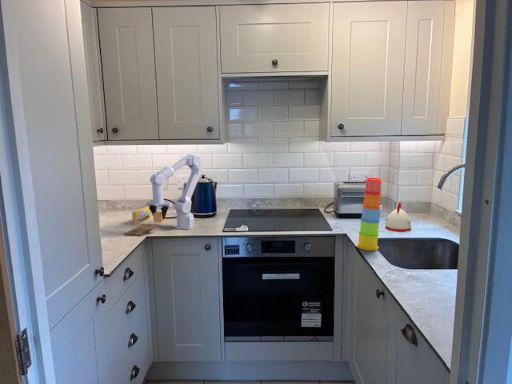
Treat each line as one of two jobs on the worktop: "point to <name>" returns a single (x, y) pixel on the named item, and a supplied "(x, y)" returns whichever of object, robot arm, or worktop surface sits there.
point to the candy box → (140, 215)
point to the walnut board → (141, 230)
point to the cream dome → (398, 221)
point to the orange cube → (158, 217)
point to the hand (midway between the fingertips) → (159, 218)
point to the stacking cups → (370, 215)
